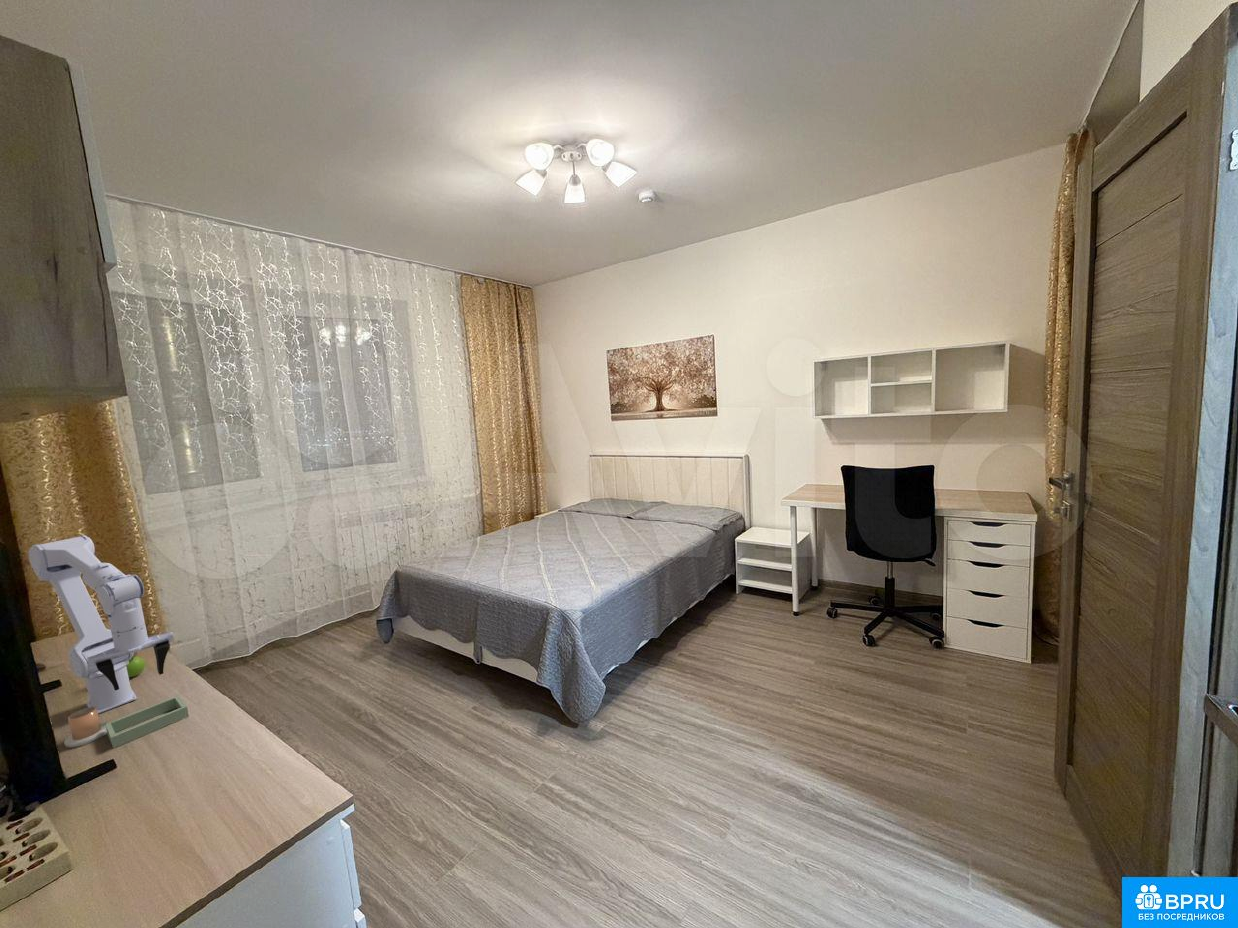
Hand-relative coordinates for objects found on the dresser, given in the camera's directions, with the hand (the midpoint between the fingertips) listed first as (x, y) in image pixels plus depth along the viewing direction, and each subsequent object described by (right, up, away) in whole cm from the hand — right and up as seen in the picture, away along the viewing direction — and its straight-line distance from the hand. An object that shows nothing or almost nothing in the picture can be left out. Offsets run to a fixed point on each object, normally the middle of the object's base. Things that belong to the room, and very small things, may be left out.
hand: (139, 680), depth 116 cm
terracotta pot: (-5, -9, -7) cm, 12 cm away
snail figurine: (-21, -8, +20) cm, 30 cm away
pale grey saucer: (-5, -10, -7) cm, 13 cm away
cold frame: (+6, -9, -4) cm, 11 cm away
